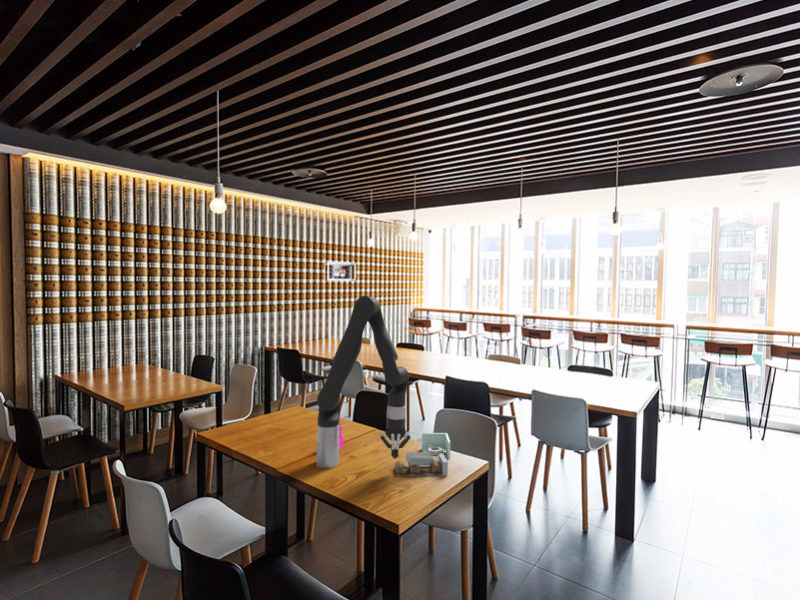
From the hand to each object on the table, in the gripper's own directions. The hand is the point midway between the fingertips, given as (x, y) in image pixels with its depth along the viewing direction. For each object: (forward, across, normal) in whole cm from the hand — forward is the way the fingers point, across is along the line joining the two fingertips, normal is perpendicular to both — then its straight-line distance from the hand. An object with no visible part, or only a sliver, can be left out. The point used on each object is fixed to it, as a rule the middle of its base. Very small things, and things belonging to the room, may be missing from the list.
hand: (394, 457), depth 178 cm
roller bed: (+7, -10, 0) cm, 12 cm away
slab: (+3, -10, -2) cm, 11 cm away
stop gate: (+6, -20, 0) cm, 21 cm away
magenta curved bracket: (+8, +26, -32) cm, 42 cm away
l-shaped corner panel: (+7, -21, -21) cm, 31 cm away
